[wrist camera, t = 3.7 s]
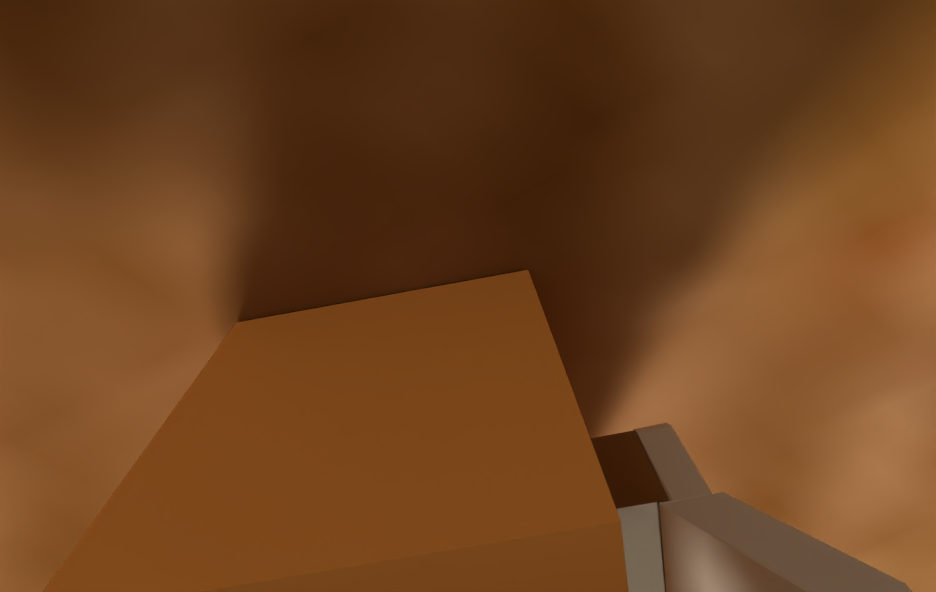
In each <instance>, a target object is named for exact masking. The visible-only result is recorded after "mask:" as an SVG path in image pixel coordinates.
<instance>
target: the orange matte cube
mask: <svg viewBox="0 0 936 592" xmlns="http://www.w3.org/2000/svg"><path fill="white" fill-rule="evenodd" d="M43 592H629V589H628V580H627V571H626V563H625V554H624V545H623V536H622V527H621V520H620V518H619V515H618V512H617V509H616V507H615V504H614V501H613V499H612V496H611V493H610V490H609V488H608V485H607V482H606V480H605V477H604V474H603V471H602V469H601V466H600V463H599V461H598V458H597V455H596V452H595V450H594V447H593V444H592V442H591V439H590V436H589V433H588V431H587V428H586V425H585V423H584V420H583V417H582V414H581V412H580V409H579V406H578V404H577V401H576V398H575V395H574V393H573V390H572V387H571V385H570V382H569V379H568V376H567V374H566V371H565V368H564V366H563V363H562V360H561V358H560V355H559V352H558V349H557V347H556V344H555V341H554V339H553V336H552V333H551V330H550V328H549V325H548V322H547V320H546V317H545V314H544V311H543V309H542V306H541V303H540V301H539V298H538V295H537V292H536V290H535V287H534V284H533V282H532V279H531V276H530V273H529V271H528V270H524V271H518V272H513V273H507V274H502V275H496V276H491V277H485V278H480V279H474V280H469V281H463V282H458V283H452V284H447V285H441V286H436V287H430V288H424V289H419V290H413V291H408V292H402V293H397V294H391V295H386V296H380V297H375V298H369V299H364V300H358V301H353V302H347V303H342V304H336V305H331V306H325V307H319V308H314V309H308V310H303V311H297V312H292V313H286V314H281V315H275V316H270V317H264V318H259V319H253V320H248V321H242V322H237V323H236V324H235V325H234V326H233V328H232V329H231V331H230V332H229V333H228V335H227V336H226V337H225V339H224V340H223V342H222V343H221V344H220V346H219V347H218V349H217V350H216V351H215V353H214V354H213V356H212V357H211V358H210V360H209V361H208V363H207V364H206V365H205V367H204V368H203V369H202V371H201V372H200V374H199V375H198V376H197V378H196V379H195V381H194V382H193V383H192V385H191V386H190V388H189V389H188V390H187V392H186V393H185V394H184V396H183V397H182V399H181V400H180V401H179V403H178V404H177V406H176V407H175V408H174V410H173V411H172V413H171V414H170V415H169V417H168V418H167V419H166V421H165V422H164V424H163V425H162V426H161V428H160V429H159V431H158V432H157V433H156V435H155V436H154V438H153V439H152V440H151V442H150V443H149V445H148V446H147V447H146V449H145V450H144V451H143V453H142V454H141V456H140V457H139V458H138V460H137V461H136V463H135V464H134V465H133V467H132V468H131V470H130V471H129V472H128V474H127V475H126V476H125V478H124V479H123V481H122V482H121V483H120V485H119V486H118V488H117V489H116V490H115V492H114V493H113V495H112V496H111V497H110V499H109V500H108V502H107V503H106V504H105V506H104V507H103V508H102V510H101V511H100V513H99V514H98V515H97V517H96V518H95V520H94V521H93V522H92V524H91V525H90V527H89V528H88V529H87V531H86V532H85V533H84V535H83V536H82V538H81V539H80V540H79V542H78V543H77V545H76V546H75V547H74V549H73V550H72V552H71V553H70V554H69V556H68V557H67V559H66V560H65V561H64V563H63V564H62V565H61V567H60V568H59V570H58V571H57V572H56V574H55V575H54V577H53V578H52V579H51V581H50V582H49V584H48V585H47V586H46V588H45V589H44V590H43Z"/></svg>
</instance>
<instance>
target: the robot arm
mask: <svg viewBox="0 0 936 592" xmlns="http://www.w3.org/2000/svg"><path fill="white" fill-rule="evenodd" d="M590 439H591V442H592V444H593V447H594V450H595V452H596V455H597V458H598V461H599V463H600V466H601V469H602V471H603V474H604V477H605V480H606V482H607V485H608V488H609V490H610V493H611V496H612V499H613V501H614V504H615V507H616V509H617V512H618V515H619V518H620V520H621V527H622V536H623V545H624V554H625V563H626V571H627V580H628V589H629V592H912V591H911V590H910V589H909V587H908V586H907V585H906V584H905V583H903V582H901V581H899V580H897V579H895V578H893V577H891V576H889V575H887V574H885V573H883V572H881V571H879V570H877V569H875V568H873V567H871V566H869V565H867V564H865V563H863V562H861V561H859V560H857V559H855V558H853V557H851V556H849V555H847V554H845V553H843V552H841V551H839V550H837V549H835V548H833V547H831V546H829V545H827V544H825V543H823V542H821V541H819V540H817V539H815V538H813V537H811V536H809V535H807V534H805V533H803V532H801V531H800V530H798V529H796V528H794V527H792V526H790V525H788V524H786V523H784V522H782V521H780V520H778V519H776V518H774V517H772V516H770V515H768V514H766V513H764V512H762V511H760V510H758V509H756V508H754V507H752V506H750V505H748V504H746V503H744V502H742V501H740V500H738V499H736V498H734V497H732V496H730V495H728V494H726V493H724V492H722V493H715V494H712V492H711V490H710V489H709V487H708V485H707V484H706V482H705V480H704V479H703V477H702V475H701V474H700V472H699V470H698V469H697V467H696V465H695V464H694V462H693V461H692V459H691V457H690V456H689V454H688V452H687V451H686V449H685V447H684V446H683V444H682V442H681V441H680V439H679V437H678V436H677V434H676V432H675V431H674V429H673V427H672V426H671V425H670V424H668V423H663V424H658V425H653V426H648V427H643V428H638V429H634V430H633V431H628V432H623V433H617V434H612V435H606V436H601V437H595V438H590Z"/></svg>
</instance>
